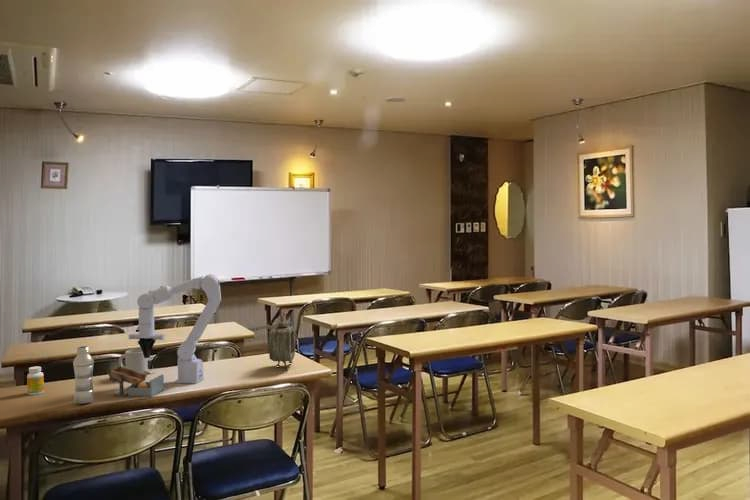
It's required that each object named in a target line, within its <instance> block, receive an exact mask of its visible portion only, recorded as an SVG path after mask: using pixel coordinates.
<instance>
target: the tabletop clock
mask: <svg viewBox="0 0 750 500" xmlns="http://www.w3.org/2000/svg"><path fill="white" fill-rule="evenodd" d="M295 330H296V329H295V326H294V325H293V326H289V323H288V322H287V321H285V311H284V310H281V312H280V321H279V322H277V324H276V326H274V328H272V329H271V330H270V331H269V333H268V352H269V353H268V354H269V356H268V357H269V360H271V361H273V362H277V364H276V366H280V367H281V365H280V363H281V362H282V363H283V364H284V366H285V367H284V370H285V369H288V370H289V367H288V366H287V362H288V364H289V363H292V364H293V359H294V358H295V355H296V337H295V336H296V333H295V332H296V331H295ZM276 366H275V367H276Z"/></svg>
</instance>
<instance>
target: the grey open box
mask: <svg viewBox="0 0 750 500" xmlns="http://www.w3.org/2000/svg"><path fill="white" fill-rule="evenodd" d="M164 380H165V379H164V374H160V375H158V376H156V377H155V378H153V379H150V380H149V381H144V382H145V383H146V384H147V388H137V385H138V384H139V383H138V384H136V385H134V384H133V385H132V384H131V385H129V386H128V396H127V397H142V398H143V397H147V398H152V397H154V396H156V395H158V394H160V393H161V392H163V391H164V389H165V387H164V386H165V382H164Z"/></svg>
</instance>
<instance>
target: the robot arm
mask: <svg viewBox="0 0 750 500" xmlns="http://www.w3.org/2000/svg"><path fill="white" fill-rule="evenodd" d="M191 289H196V290H201V289H202V291H203V292H204V293H205V294H206V297H207V302H206V305H205V306H204V308H203V309H202V311H201V313H200V315H199V316H198V319H197V320H196V322H195V324H194V326H193V327H192V329H191V331H190V332H189V334H188V335H187V337H186V339H185V340H184V341H182V343H181V344H180V346H178V348H177V351H176V354H177V379H176V380H174V381H173V383H174V384H175V383H176V384H197V383H200V381H202V380H203V379H205V377H204V362H203V360H202V359H201V358H197V356H196V355H195V352H196V350H197V344H198V342H199V341H200V339H201V337H202V335H203V333H204V332H205V331H206V328H207V327H208V325H209V323H210V321H211V320H212V318H213V316H214V314H215V312H216V311H217V309H218V307H219V305H220V303H221V301H222V294H221V284H220V280H219V278H218V277H217V276H216V275H215V274H207V275H205V276H204V275H203V276H198V277H194V278H191V279H189V280H185V281H184V282H181V283H179V284H177V285H176V284H175V285H174V286H169V285H164V284H163V285H160V286H159V288H157V289H154V290H152V289H151V290H148V291H147V292H145V293H142V294H141V295H139V296H138V298H137V301H136V304H137V306H138V333H128V340H138V341H137V344H138V345H139V347H140V349H142V351H143V355H144V358H147V359H149V358H151V354H152V350H153V348H154V344H155V343H156V341H157V340H159V341H163V340H164V341H165V340H166V334H161V333H155V310H154V309H155V307H154V305H159V304H162V303H164V302H167V301H169V300H172V299H173V297H174V296H175V295H176V294H179V293H183V292H185V291H189V290H191Z"/></svg>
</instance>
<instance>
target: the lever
mask: <svg viewBox="0 0 750 500" xmlns="http://www.w3.org/2000/svg"><path fill="white" fill-rule="evenodd" d="M124 367H125V366H124ZM124 367H121V366H118V367H115V368H113V369H111V370H109V373H108V377H109V378H108V381H110V382H112V383H115V382H116V381H117V380H118V379H119V378H123V382H125V383H128V384H131V385H132V384H134V385H136V384H138V383H140V382H146V379H147V377H146V375H148V376H149V375H150V376H151V375H153V374H155V373H156V370H152V369H149V368H148V369H147V370H145V371H144V372H143V373H139V372H136V371H133V370H130V369H127V368H124ZM117 382H118V381H117Z"/></svg>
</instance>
